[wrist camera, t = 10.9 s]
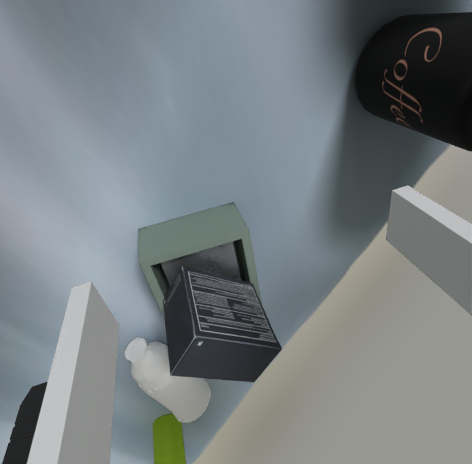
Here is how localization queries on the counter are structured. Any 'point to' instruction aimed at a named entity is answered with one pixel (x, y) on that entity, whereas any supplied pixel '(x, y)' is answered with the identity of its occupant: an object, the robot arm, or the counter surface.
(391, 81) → the coffee jar
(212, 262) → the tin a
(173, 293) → the small box
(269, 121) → the counter surface
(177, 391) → the white bottle
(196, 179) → the counter surface
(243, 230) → the box
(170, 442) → the soap dispenser
